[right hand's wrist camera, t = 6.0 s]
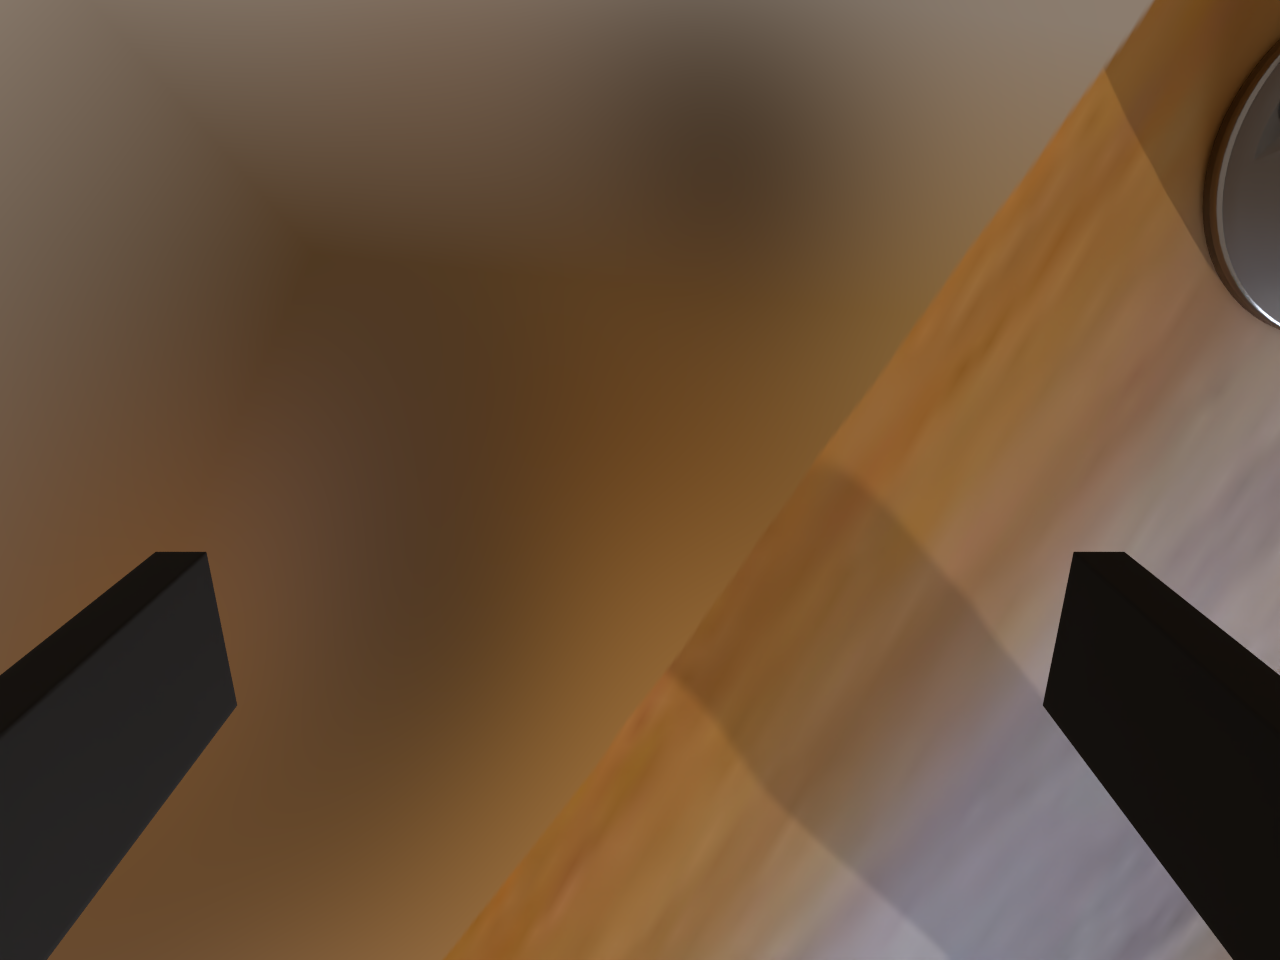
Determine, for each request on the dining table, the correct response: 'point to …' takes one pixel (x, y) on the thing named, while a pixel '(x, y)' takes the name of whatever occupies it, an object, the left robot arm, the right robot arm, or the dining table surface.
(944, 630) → the dining table surface
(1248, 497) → the dining table surface
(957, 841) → the dining table surface
